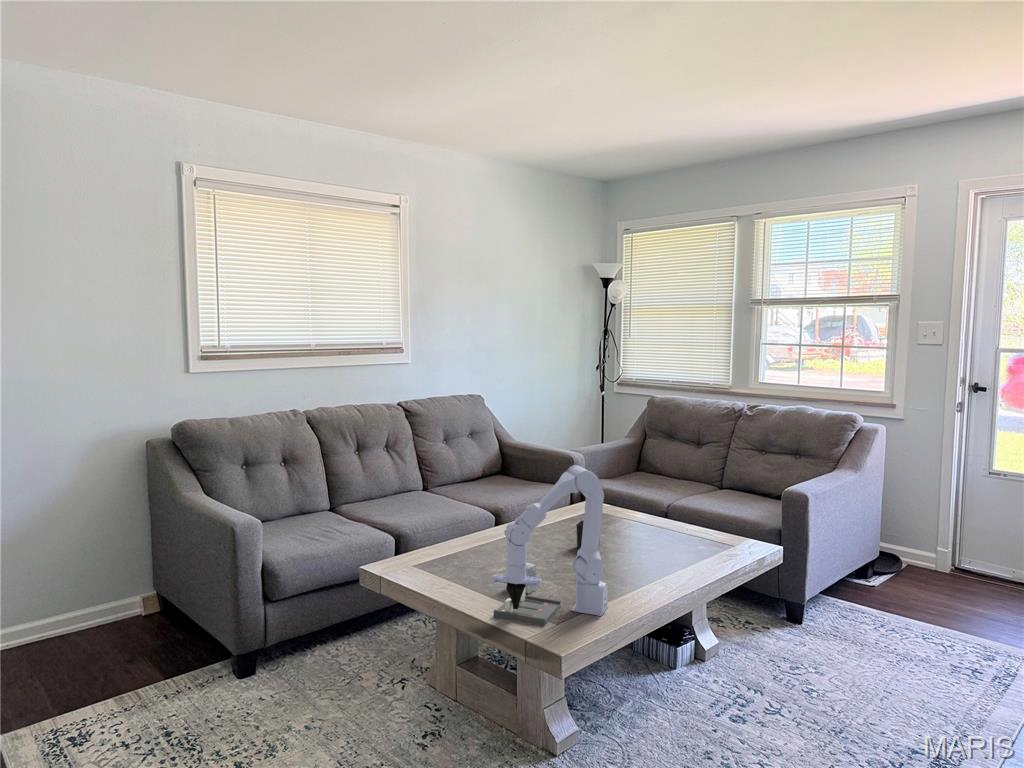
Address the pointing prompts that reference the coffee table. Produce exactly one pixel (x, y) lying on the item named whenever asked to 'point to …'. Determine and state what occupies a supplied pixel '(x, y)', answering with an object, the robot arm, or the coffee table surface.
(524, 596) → the breaker
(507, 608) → the block
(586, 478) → the robot arm
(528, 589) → the medicine box
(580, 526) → the pen holder
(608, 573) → the coffee table surface
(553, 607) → the breaker panel
